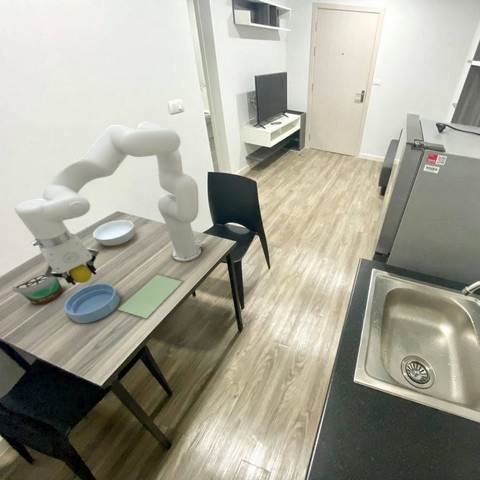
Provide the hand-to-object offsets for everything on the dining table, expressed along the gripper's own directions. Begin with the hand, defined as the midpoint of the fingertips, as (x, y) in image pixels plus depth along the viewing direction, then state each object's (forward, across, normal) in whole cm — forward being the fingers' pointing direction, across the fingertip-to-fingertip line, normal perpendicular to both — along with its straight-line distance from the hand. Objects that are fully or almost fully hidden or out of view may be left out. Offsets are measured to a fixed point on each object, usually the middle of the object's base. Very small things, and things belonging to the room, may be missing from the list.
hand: (83, 277), depth 92 cm
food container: (+15, -10, +18) cm, 26 cm away
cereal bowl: (+16, +24, +37) cm, 47 cm away
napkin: (+15, +14, -10) cm, 23 cm away
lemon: (+2, 0, 0) cm, 2 cm away
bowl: (+15, -2, +1) cm, 15 cm away
